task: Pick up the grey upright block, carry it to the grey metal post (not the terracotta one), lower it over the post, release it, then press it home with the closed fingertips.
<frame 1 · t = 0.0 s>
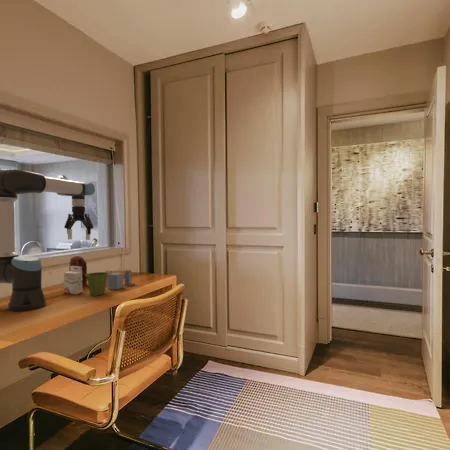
hand: (78, 239, 196), 28 cm above the table, fingers open, 13 cm apart
ink cartridge box: (73, 293, 172), on the table
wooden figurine: (77, 285, 192), on the table
post: (128, 284, 192), on the table
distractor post: (108, 285, 191), on the table
plant pot: (97, 294, 169), on the table
grey upright block: (115, 288, 183), on the table
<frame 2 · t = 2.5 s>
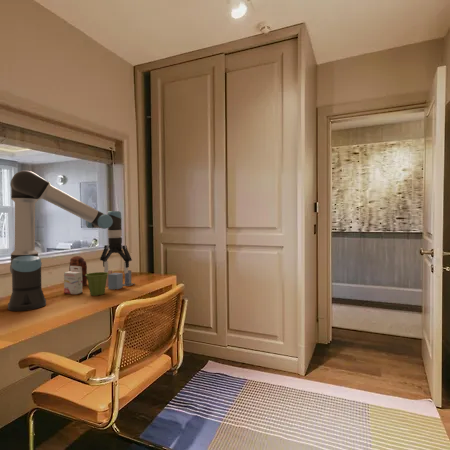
hand: (116, 272, 183), 9 cm above the table, fingers open, 13 cm apart
nothing on the table moved.
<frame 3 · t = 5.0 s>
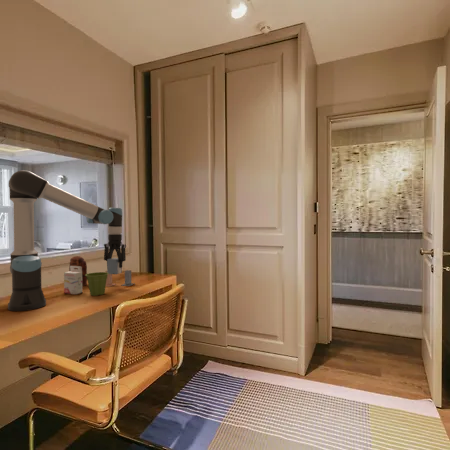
hand: (114, 272, 183), 9 cm above the table, fingers closed on grey upright block, 6 cm apart
grey upright block: (114, 273, 183), point 9 cm above the table, touching gripper
everything else where it was.
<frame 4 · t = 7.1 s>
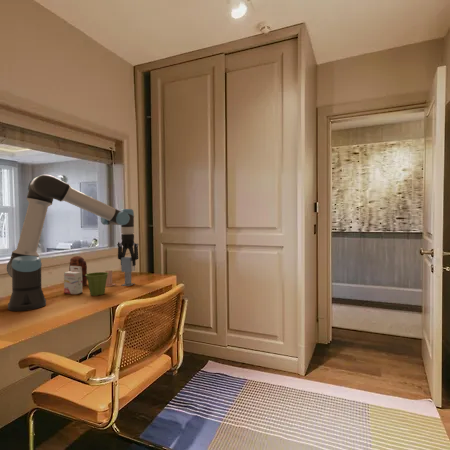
hand: (128, 270, 192), 9 cm above the table, fingers closed on grey upright block, 6 cm apart
grey upright block: (128, 271, 192), point 9 cm above the table, touching gripper
everything else where it was.
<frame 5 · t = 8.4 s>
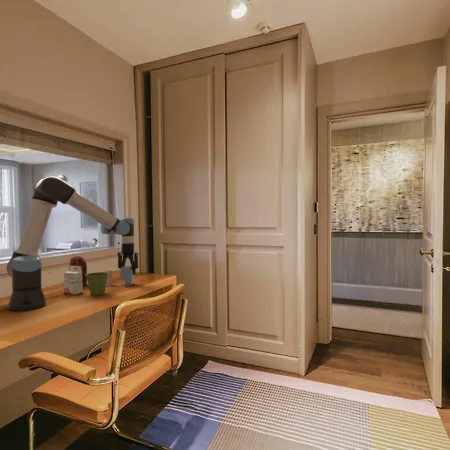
hand: (128, 279, 192), 3 cm above the table, fingers closed on grey upright block, 6 cm apart
grey upright block: (128, 280, 192), point 3 cm above the table, touching gripper
everything else where it was.
when the fingers open (1 cm above the table, at t = 9.3 s): grey upright block stays where it is, resting on post.
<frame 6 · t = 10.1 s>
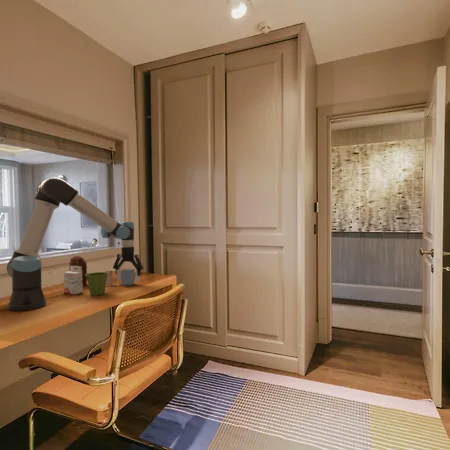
hand: (128, 280, 192), 3 cm above the table, fingers open, 13 cm apart
grey upright block: (128, 283, 192), point 1 cm above the table, touching post
everything else where it was.
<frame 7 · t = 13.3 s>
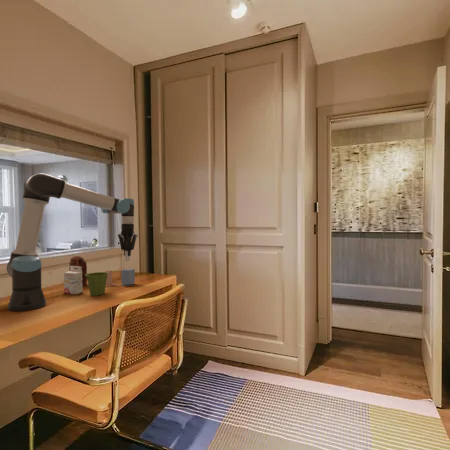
hand: (127, 261, 192), 15 cm above the table, fingers closed
nothing on the table moved.
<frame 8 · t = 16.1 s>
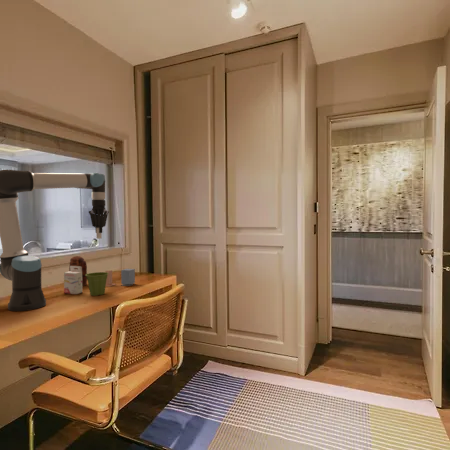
hand: (99, 238, 187), 29 cm above the table, fingers closed
nothing on the table moved.
at the end: grey upright block 0.0 cm from the post (horizontally); grey upright block point 1.0 cm above the table; grey upright block tilted 0° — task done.
